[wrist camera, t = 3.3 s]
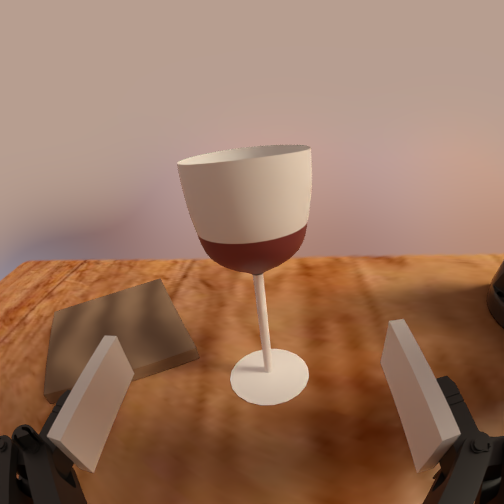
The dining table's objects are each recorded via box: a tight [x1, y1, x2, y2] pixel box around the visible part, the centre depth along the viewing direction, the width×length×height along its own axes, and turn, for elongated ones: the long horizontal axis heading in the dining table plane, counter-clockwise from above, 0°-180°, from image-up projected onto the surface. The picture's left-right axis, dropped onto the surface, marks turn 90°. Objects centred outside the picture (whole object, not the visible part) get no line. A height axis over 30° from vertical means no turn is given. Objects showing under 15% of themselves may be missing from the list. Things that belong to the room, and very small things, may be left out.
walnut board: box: [44, 279, 199, 404], centre depth 34 cm, size 18×18×2 cm
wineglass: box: [177, 145, 312, 405], centre depth 23 cm, size 8×9×20 cm
